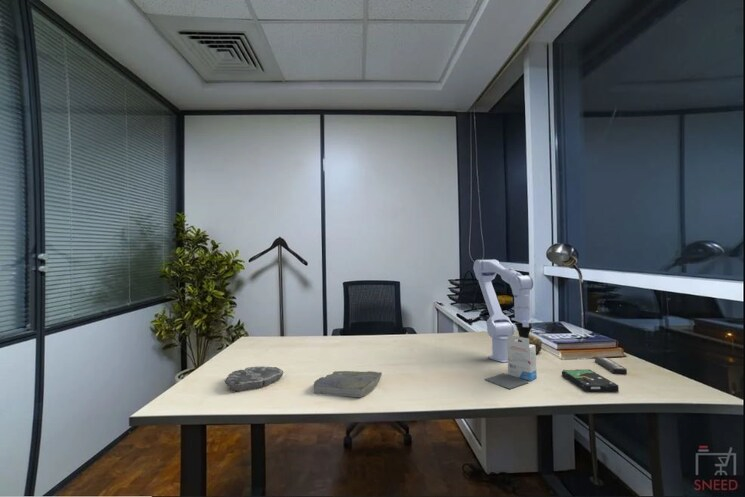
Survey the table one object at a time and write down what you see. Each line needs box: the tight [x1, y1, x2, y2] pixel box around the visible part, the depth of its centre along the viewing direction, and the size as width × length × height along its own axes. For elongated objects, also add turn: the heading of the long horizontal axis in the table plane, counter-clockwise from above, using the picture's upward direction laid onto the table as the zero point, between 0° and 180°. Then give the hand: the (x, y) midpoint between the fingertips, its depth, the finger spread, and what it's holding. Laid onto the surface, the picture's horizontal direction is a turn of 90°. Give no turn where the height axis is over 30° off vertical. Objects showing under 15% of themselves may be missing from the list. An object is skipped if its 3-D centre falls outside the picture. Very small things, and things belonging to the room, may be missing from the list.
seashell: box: [517, 333, 543, 354], centre depth 148 cm, size 11×9×8 cm
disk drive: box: [561, 369, 619, 393], centre depth 111 cm, size 10×3×15 cm
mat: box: [484, 373, 529, 390], centre depth 113 cm, size 10×10×1 cm
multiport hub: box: [594, 356, 628, 375], centre depth 126 cm, size 4×14×2 cm, turn 169°
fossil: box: [313, 370, 383, 398], centre depth 111 cm, size 20×5×17 cm
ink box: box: [507, 335, 538, 382], centre depth 118 cm, size 8×5×15 cm, turn 39°
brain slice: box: [224, 365, 284, 392], centre depth 116 cm, size 20×17×3 cm
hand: (524, 342), depth 124 cm, fingers closed
